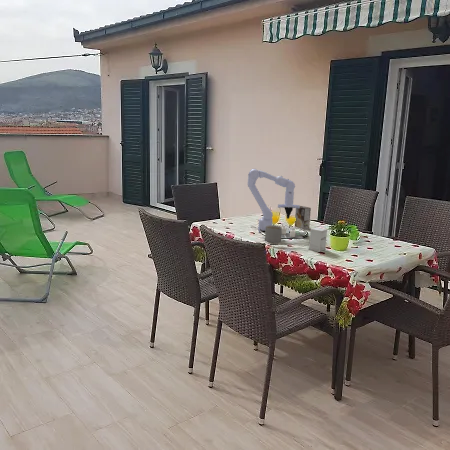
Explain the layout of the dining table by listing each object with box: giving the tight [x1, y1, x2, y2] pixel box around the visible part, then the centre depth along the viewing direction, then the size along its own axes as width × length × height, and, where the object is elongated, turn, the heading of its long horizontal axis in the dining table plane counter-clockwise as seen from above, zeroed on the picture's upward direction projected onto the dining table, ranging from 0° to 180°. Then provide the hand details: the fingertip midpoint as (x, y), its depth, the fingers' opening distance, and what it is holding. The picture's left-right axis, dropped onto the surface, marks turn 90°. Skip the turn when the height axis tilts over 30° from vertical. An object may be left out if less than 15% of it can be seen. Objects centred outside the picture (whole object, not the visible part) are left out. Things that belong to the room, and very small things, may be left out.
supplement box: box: [308, 227, 328, 253], centre depth 273 cm, size 7×7×13 cm
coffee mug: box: [264, 224, 282, 246], centre depth 286 cm, size 13×10×10 cm
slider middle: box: [282, 226, 287, 234], centre depth 303 cm, size 3×3×4 cm
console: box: [281, 230, 304, 240], centre depth 303 cm, size 15×20×2 cm
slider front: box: [289, 229, 296, 237], centre depth 296 cm, size 3×3×4 cm
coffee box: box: [294, 205, 312, 230], centre depth 325 cm, size 9×6×16 cm
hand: (287, 218), depth 313 cm, fingers closed
